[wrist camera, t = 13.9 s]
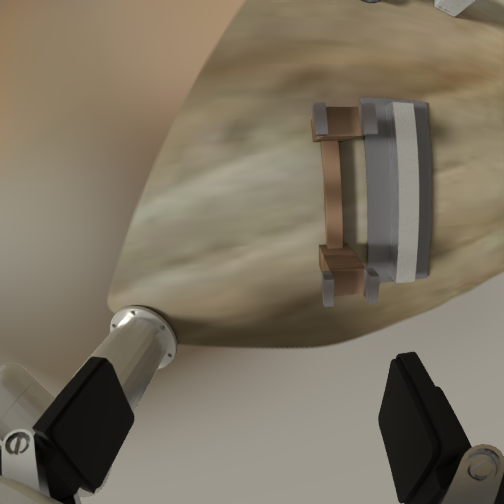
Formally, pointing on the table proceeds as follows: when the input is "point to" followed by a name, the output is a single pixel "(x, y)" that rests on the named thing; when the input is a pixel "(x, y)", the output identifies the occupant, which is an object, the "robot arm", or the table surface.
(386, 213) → the mat
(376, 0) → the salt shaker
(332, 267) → the rack
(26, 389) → the robot arm
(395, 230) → the rail
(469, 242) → the table surface
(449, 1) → the skincare box
